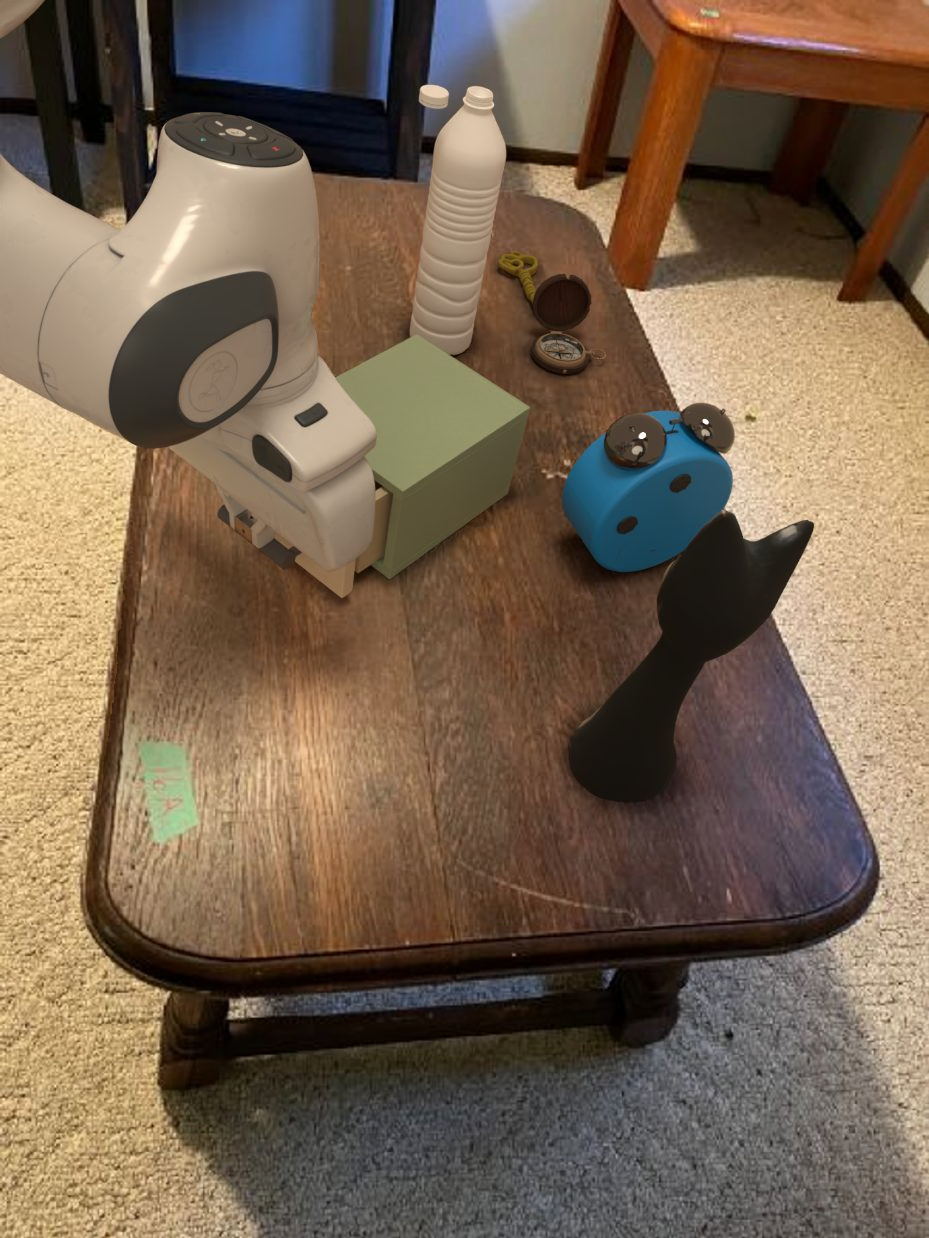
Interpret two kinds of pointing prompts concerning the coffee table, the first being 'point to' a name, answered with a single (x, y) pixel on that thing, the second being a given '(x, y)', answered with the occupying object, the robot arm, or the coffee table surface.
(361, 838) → the coffee table surface
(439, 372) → the cabinet
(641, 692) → the figurine
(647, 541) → the alarm clock
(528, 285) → the key
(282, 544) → the drawer
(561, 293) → the compass
